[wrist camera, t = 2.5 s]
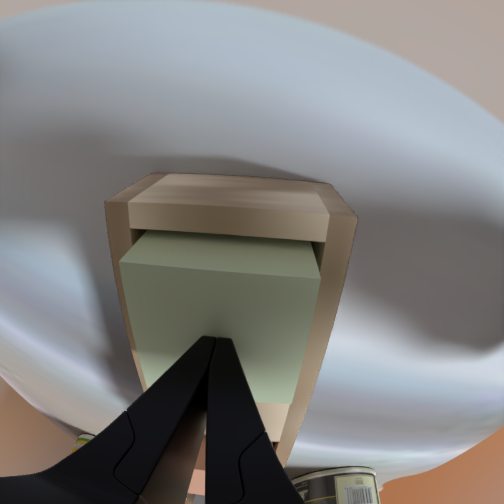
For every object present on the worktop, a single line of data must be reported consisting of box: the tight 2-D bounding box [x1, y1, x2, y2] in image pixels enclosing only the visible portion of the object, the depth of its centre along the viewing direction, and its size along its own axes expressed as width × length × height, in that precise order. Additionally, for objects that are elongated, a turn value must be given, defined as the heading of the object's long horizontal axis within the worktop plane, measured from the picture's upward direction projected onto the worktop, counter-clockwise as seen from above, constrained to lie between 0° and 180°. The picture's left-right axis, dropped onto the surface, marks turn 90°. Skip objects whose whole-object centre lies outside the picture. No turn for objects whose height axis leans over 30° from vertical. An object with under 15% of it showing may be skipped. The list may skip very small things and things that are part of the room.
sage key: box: [119, 229, 321, 404], centre depth 10 cm, size 5×5×4 cm
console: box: [104, 173, 358, 504], centre depth 16 cm, size 7×29×4 cm, turn 177°
